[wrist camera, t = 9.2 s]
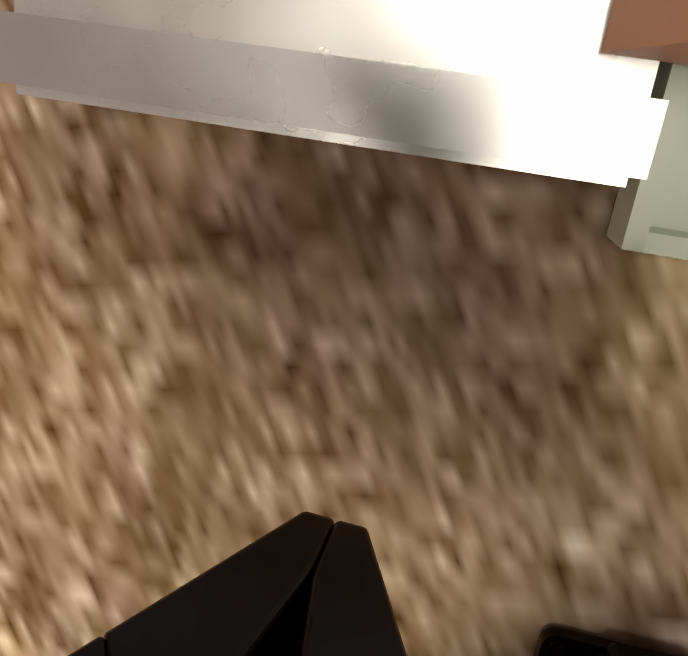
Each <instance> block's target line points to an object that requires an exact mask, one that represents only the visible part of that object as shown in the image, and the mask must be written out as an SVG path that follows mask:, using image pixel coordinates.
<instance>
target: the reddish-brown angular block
mask: <svg viewBox="0 0 688 656" xmlns="http://www.w3.org/2000/svg"><path fill="white" fill-rule="evenodd" d="M602 53H608V54H614V55H621V56H628V57H635V58H642V59H648V60H655V61H662V62H669V63H676V64H682V65H688V0H614V2H613V6H612V11H611V15H610V19H609V24H608V28H607V32H606V36H605V41H604V45H603V49H602Z"/></svg>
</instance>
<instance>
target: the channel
mask: <svg viewBox="0 0 688 656" xmlns="http://www.w3.org/2000/svg"><path fill="white" fill-rule="evenodd" d="M613 2H614V0H14V12H8V11H0V82H3V83H10V84H16V94H21V95H27V96H34V97H40V98H47V99H53V100H60V101H66V102H73V103H79V104H86V105H92V106H99V107H105V108H112V109H118V110H125V111H131V112H138V113H144V114H151V115H157V116H164V117H170V118H177V119H183V120H190V121H196V122H203V123H209V124H216V125H222V126H229V127H235V128H241V129H248V130H254V131H261V132H267V133H274V134H280V135H287V136H293V137H300V138H306V139H313V140H319V141H326V142H332V143H339V144H345V145H352V146H358V147H365V148H371V149H378V150H384V151H391V152H397V153H404V154H410V155H417V156H423V157H430V158H436V159H443V160H449V161H456V162H462V163H469V164H475V165H482V166H488V167H495V168H501V169H508V170H514V171H521V172H527V173H534V174H540V175H547V176H553V177H560V178H566V179H573V180H579V181H586V182H592V183H599V184H605V185H612V186H618V187H626V184H627V180H628V177H629V178H636V179H643V180H647V176H648V173H649V169H650V166H651V162H652V159H653V155H654V152H655V148H656V145H657V141H658V138H659V134H660V130H661V127H662V123H663V120H664V116H665V113H666V109H667V106H668V102H669V100H661V99H654V98H650V96H651V92H652V88H653V85H654V81H655V77H656V74H657V70H658V66H659V63H660V61H655V60H648V59H642V58H635V57H628V56H621V55H614V54H608V53H602V49H603V45H604V41H605V36H606V32H607V28H608V24H609V19H610V15H611V11H612V6H613Z"/></svg>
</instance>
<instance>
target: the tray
mask: <svg viewBox="0 0 688 656" xmlns="http://www.w3.org/2000/svg"><path fill="white" fill-rule="evenodd" d="M650 98H654V99H661V100H669V102H668V106H667V109H666V113H665V116H664V120H663V123H662V127H661V130H660V134H659V138H658V141H657V145H656V148H655V152H654V155H653V159H652V162H651V166H650V169H649V173H648V176H647V180H643V179H636V178H629V177H628V180H627V184H626V187H619V190H618V194H617V197H616V201H615V205H614V208H613V212H612V216H611V220H610V223H609V227H608V231H607V234H606V236H607V237H608V238H609V239H610V240H612V241H613V242H614V243H615V244H616V245H617V246H618V247H619V248H620V249H623V250H629V251H635V252H641V253H647V254H653V255H659V256H665V257H671V258H677V259H683V260H688V65H682V64H676V63H669V62H662V61H660V63H659V66H658V70H657V74H656V77H655V81H654V85H653V88H652V92H651V96H650Z"/></svg>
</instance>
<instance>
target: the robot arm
mask: <svg viewBox="0 0 688 656" xmlns="http://www.w3.org/2000/svg"><path fill="white" fill-rule="evenodd" d="M554 642H558V643H561V645H559V646H553V645H551V644H552V643H554ZM68 656H407V654H406V651H405V648H404V644H403V641H402V638H401V635H400V632H399V629H398V625H397V622H396V619H395V616H394V613H393V609H392V606H391V603H390V600H389V597H388V594H387V590H386V587H385V584H384V581H383V578H382V574H381V571H380V568H379V565H378V562H377V558H376V555H375V552H374V549H373V546H372V543H371V539H370V536H369V533H368V531H367V529H366V528H364V527H361V526H357V525H354V524H350V523H346V522H343V521H338V522H336V523H335V524H334V521H333V520H332V519H331V518H328V517H325V516H321V515H317V514H314V513H310V512H302V513H300V514H299V515H297V516H295V517H294V518H292V519H291V520H289V521H287V522H286V523H284V524H282V525H281V526H279V527H278V528H276V529H274V530H273V531H271V532H269V533H268V534H266V535H264V536H263V537H261V538H260V539H258V540H256V541H255V542H253V543H251V544H250V545H248V546H247V547H245V548H243V549H242V550H240V551H238V552H237V553H235V554H234V555H232V556H230V557H229V558H227V559H225V560H224V561H222V562H220V563H219V564H217V565H216V566H214V567H212V568H211V569H209V570H207V571H206V572H204V573H203V574H201V575H199V576H198V577H196V578H194V579H193V580H191V581H189V582H188V583H186V584H185V585H183V586H181V587H180V588H178V589H176V590H175V591H173V592H172V593H170V594H168V595H167V596H165V597H163V598H162V599H160V600H158V601H157V602H155V603H154V604H152V605H150V606H149V607H147V608H145V609H144V610H142V611H141V612H139V613H137V614H136V615H134V616H132V617H131V618H129V619H128V620H126V621H124V622H123V623H121V624H119V625H118V626H116V627H114V628H113V629H111V630H110V631H108V632H106V634H105V635H104V638H103V637H98V638H96V639H94V640H93V641H91V642H89V643H88V644H86V645H85V646H83V647H81V648H80V649H78V650H76V651H75V652H73V653H71V654H70V655H68ZM534 656H671V655H667V654H663V653H659V652H655V651H651V650H647V649H643V648H639V647H635V646H631V645H627V644H623V643H619V642H615V641H611V640H607V639H602V638H598V637H594V636H590V635H586V634H582V633H578V632H574V631H570V630H566V629H562V628H557V627H551V628H547V629H546V630H544V631H543V632H542V633H541V635H540V638H539V641H538V645H537V648H536V651H535V655H534Z"/></svg>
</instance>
